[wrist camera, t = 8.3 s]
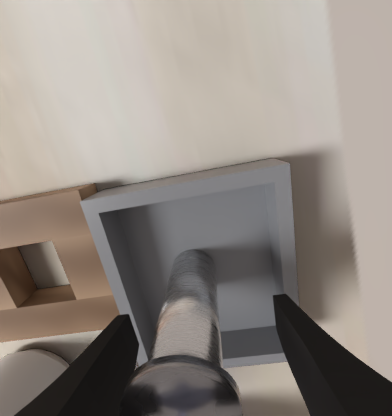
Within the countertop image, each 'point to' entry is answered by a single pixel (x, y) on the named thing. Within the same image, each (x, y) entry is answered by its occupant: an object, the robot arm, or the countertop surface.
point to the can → (26, 377)
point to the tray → (203, 249)
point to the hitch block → (71, 261)
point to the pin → (185, 350)
